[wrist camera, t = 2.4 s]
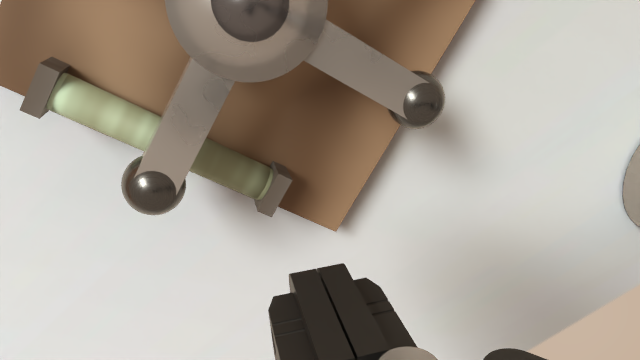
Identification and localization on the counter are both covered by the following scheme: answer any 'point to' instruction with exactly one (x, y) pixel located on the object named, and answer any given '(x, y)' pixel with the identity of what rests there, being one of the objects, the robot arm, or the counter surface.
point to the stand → (242, 101)
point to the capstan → (259, 80)
